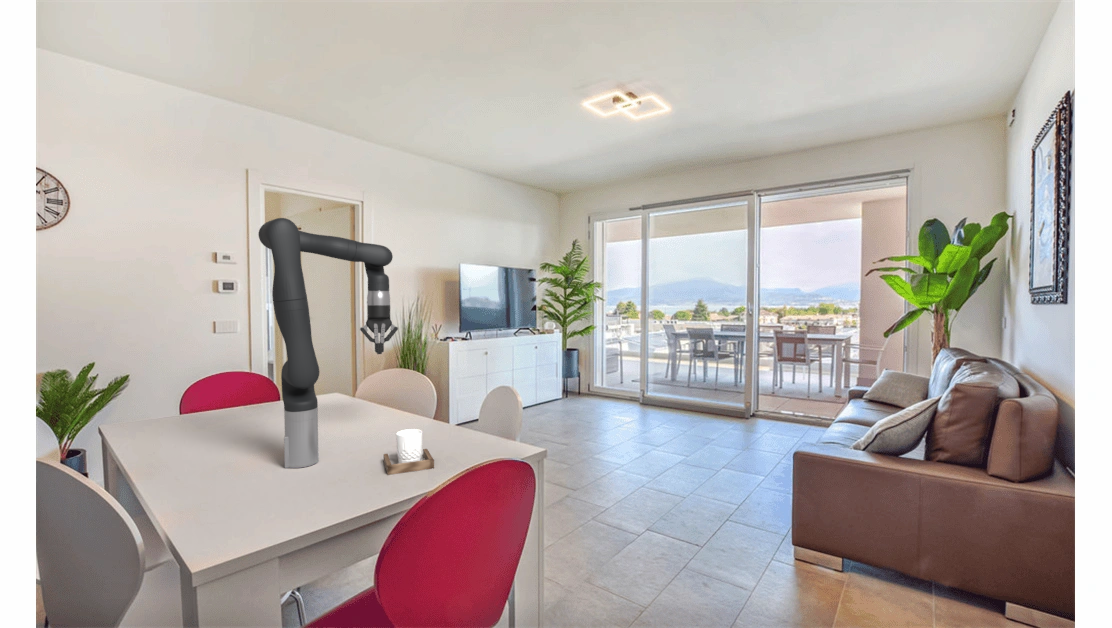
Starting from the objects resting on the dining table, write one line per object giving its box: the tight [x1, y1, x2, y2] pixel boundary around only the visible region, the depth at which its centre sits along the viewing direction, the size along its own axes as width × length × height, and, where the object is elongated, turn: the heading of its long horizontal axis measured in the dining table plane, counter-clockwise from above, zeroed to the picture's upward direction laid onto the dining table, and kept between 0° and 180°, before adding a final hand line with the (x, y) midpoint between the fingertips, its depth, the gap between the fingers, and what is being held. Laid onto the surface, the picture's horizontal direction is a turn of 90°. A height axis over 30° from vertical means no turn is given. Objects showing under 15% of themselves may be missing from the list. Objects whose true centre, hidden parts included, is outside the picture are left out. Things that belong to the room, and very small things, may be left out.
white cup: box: [395, 428, 423, 464], centre depth 154 cm, size 8×8×10 cm
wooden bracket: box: [383, 448, 435, 476], centre depth 153 cm, size 13×12×2 cm
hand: (379, 353), depth 172 cm, fingers closed
